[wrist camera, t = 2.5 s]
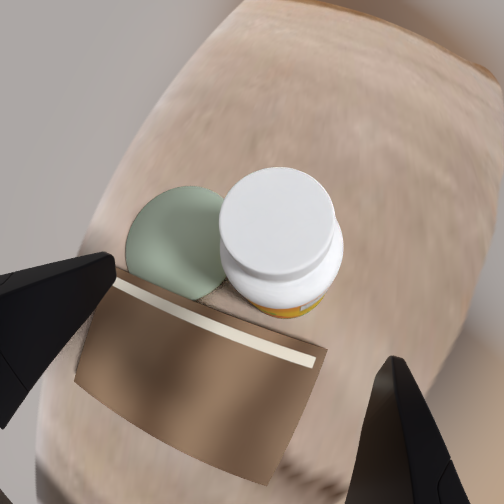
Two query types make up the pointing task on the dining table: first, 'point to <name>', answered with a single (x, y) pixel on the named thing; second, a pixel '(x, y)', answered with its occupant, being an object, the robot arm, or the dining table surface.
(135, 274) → the end pad
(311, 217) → the supplement bottle
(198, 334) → the walnut board
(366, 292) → the dining table surface
